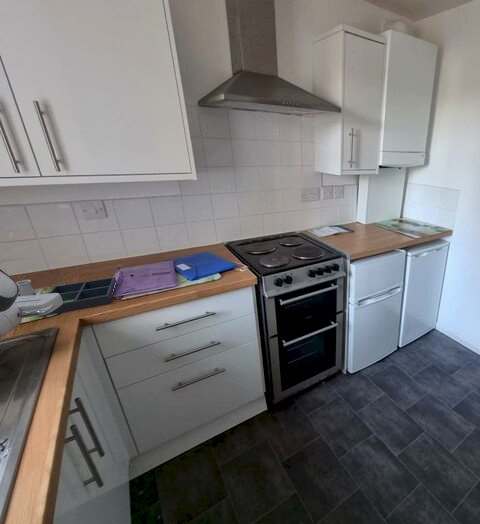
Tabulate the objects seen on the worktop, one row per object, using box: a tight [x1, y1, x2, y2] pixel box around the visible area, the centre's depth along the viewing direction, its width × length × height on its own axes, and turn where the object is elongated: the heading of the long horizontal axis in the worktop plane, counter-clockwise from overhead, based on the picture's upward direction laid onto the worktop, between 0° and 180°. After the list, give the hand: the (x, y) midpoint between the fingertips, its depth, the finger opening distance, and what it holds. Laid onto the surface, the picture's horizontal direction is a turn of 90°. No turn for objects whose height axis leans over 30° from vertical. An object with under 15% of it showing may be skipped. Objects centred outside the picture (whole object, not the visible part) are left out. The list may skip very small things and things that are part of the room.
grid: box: [41, 276, 118, 317], centre depth 115 cm, size 19×19×4 cm
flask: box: [15, 279, 36, 318], centre depth 89 cm, size 7×7×10 cm
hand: (30, 294), depth 89 cm, fingers closed on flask, 3 cm apart
